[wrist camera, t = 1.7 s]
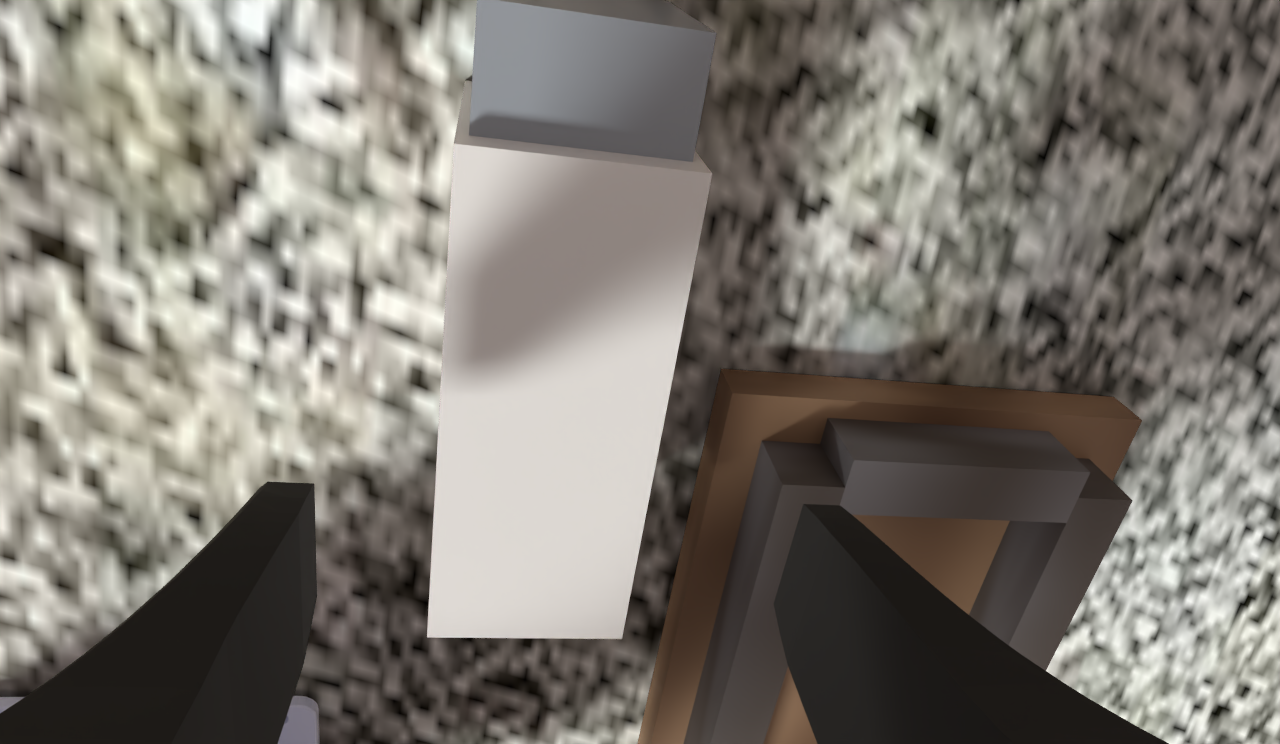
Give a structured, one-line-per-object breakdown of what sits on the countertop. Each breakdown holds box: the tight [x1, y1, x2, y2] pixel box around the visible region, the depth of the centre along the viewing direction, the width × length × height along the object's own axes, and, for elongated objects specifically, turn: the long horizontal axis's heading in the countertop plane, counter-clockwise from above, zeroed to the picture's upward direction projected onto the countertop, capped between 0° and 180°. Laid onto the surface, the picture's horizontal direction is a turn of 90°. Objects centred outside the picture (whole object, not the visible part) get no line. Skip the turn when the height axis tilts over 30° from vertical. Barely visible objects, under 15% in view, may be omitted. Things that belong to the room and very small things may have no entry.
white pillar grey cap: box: [427, 0, 716, 639], centre depth 17 cm, size 4×12×5 cm, turn 171°
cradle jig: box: [638, 369, 1142, 744], centre depth 25 cm, size 11×18×3 cm, turn 171°
